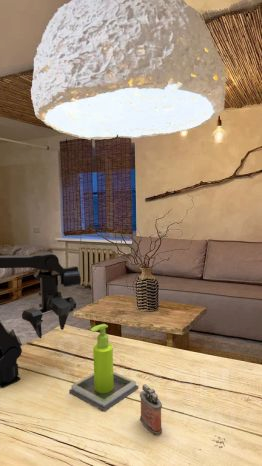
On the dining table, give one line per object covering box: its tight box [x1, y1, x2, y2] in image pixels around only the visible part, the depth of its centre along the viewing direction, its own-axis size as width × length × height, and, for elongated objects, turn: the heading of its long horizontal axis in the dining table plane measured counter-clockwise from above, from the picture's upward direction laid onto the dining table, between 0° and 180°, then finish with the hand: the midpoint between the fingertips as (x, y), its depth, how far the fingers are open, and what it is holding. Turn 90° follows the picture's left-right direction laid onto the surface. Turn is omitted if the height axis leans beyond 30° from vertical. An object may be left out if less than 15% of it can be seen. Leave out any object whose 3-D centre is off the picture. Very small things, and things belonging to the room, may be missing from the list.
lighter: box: [139, 383, 163, 436], centre depth 89 cm, size 8×3×10 cm, turn 30°
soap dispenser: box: [89, 323, 114, 393], centre depth 105 cm, size 6×7×20 cm
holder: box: [69, 371, 139, 413], centre depth 106 cm, size 15×15×2 cm
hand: (51, 333), depth 118 cm, fingers open, 9 cm apart
